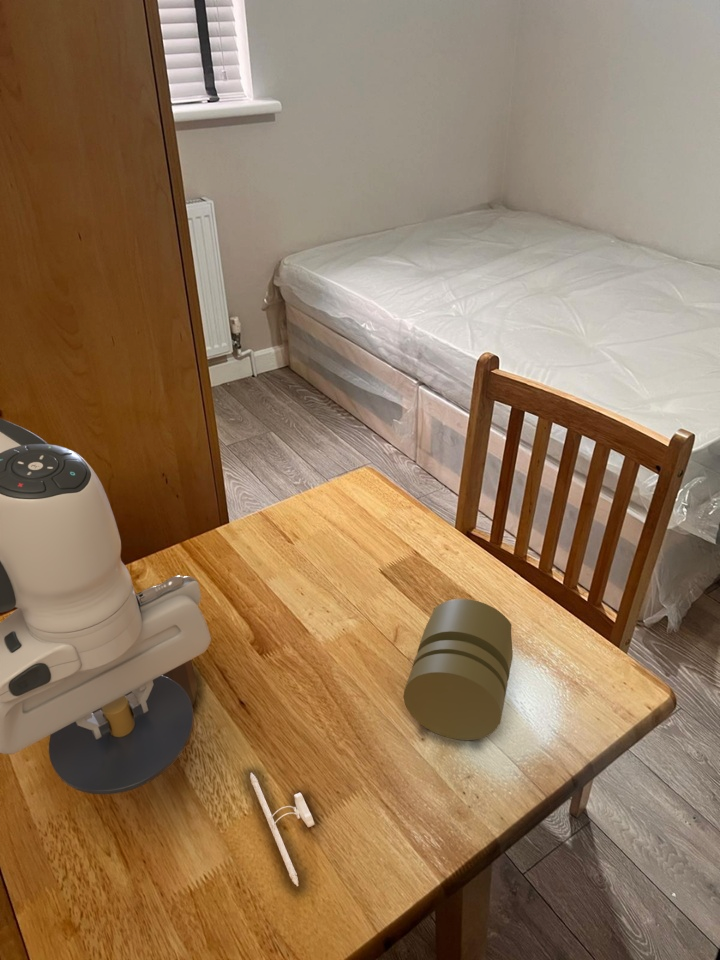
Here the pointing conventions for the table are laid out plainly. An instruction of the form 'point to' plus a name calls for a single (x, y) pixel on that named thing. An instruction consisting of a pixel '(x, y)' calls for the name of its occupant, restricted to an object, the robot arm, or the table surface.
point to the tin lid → (125, 743)
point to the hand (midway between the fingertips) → (119, 720)
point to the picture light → (301, 810)
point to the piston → (461, 670)
